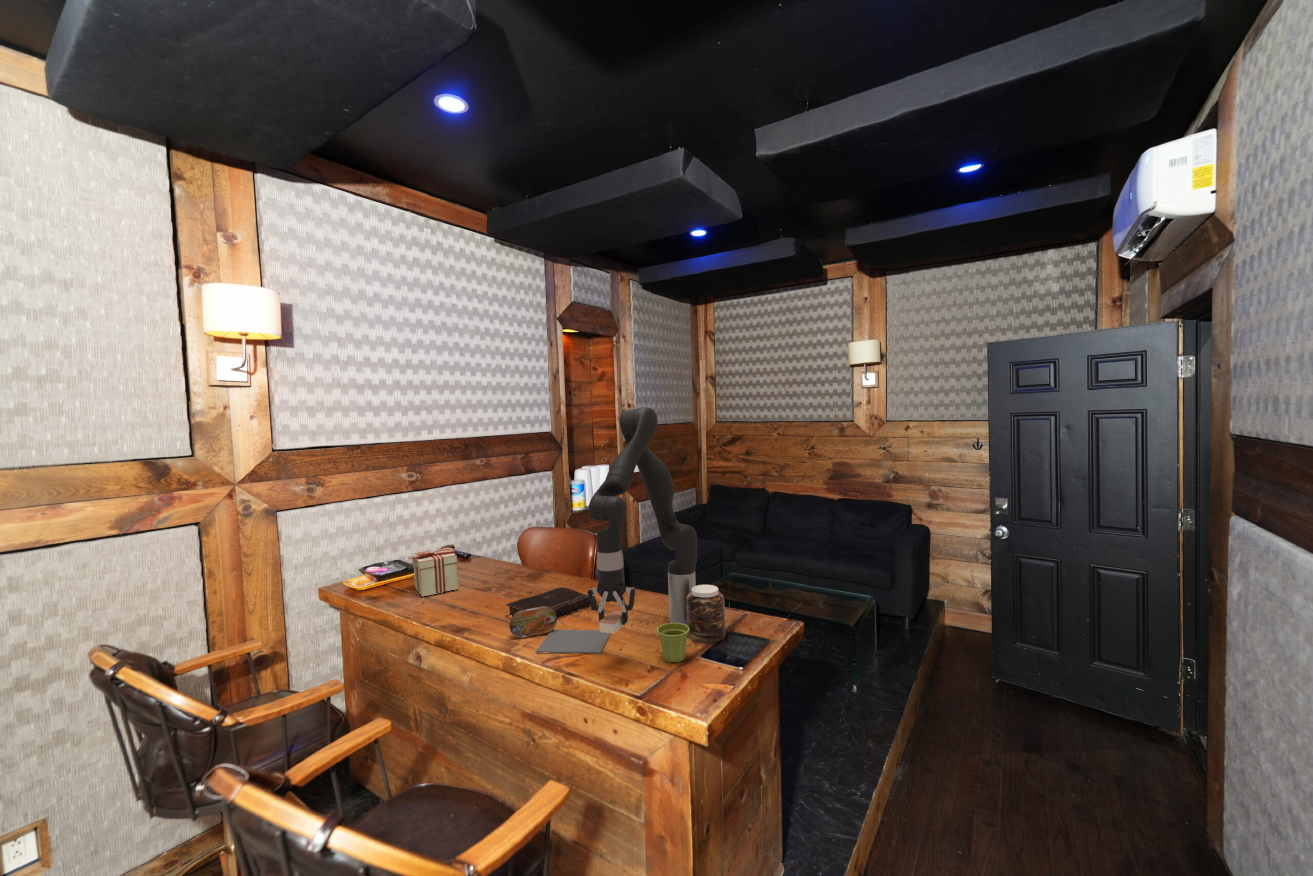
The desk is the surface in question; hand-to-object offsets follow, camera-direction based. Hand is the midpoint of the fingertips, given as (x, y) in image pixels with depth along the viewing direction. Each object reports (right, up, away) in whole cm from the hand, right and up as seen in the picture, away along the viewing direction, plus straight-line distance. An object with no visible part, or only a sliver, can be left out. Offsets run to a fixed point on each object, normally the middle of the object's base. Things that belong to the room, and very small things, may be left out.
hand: (613, 623), depth 151 cm
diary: (-27, -11, +43) cm, 52 cm away
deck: (0, -1, 0) cm, 1 cm away
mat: (-13, -11, +15) cm, 23 cm away
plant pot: (+17, -11, +2) cm, 20 cm away
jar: (+28, -10, +16) cm, 34 cm away
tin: (-28, -11, +22) cm, 37 cm away
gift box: (-82, -11, +73) cm, 111 cm away
